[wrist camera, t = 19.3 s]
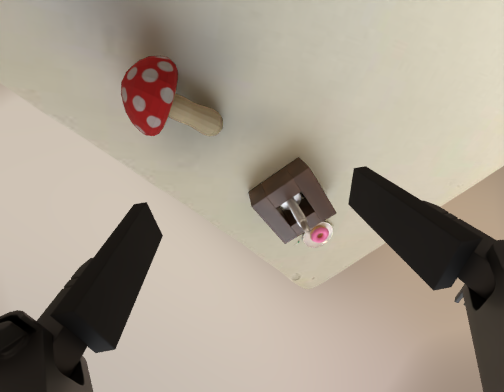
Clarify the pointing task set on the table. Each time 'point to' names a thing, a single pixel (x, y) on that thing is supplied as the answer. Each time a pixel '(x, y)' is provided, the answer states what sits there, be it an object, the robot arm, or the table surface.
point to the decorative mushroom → (162, 99)
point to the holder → (284, 188)
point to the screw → (297, 212)
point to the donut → (318, 235)
